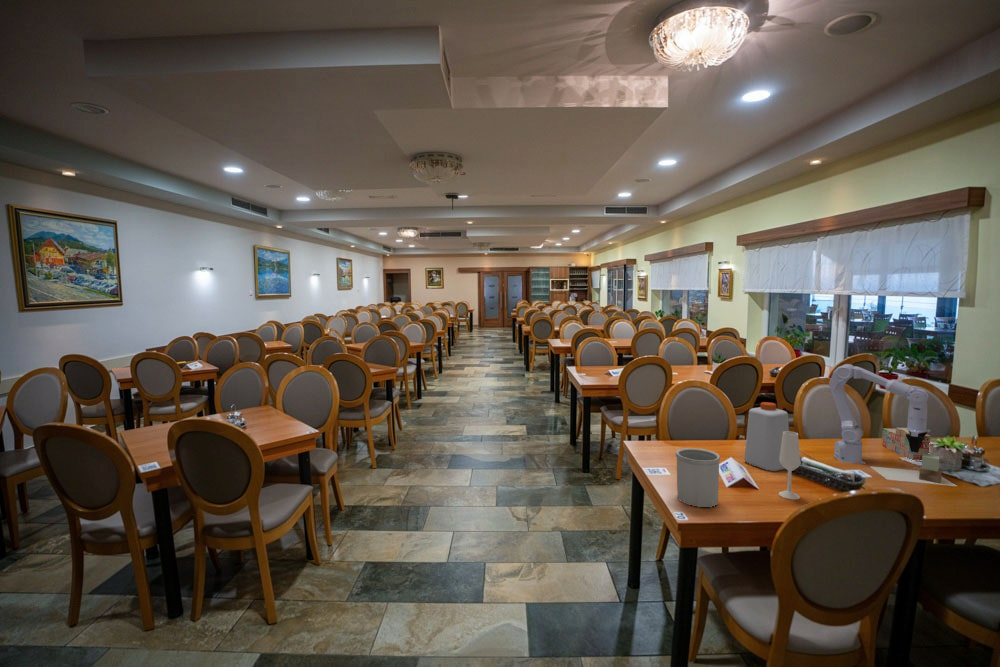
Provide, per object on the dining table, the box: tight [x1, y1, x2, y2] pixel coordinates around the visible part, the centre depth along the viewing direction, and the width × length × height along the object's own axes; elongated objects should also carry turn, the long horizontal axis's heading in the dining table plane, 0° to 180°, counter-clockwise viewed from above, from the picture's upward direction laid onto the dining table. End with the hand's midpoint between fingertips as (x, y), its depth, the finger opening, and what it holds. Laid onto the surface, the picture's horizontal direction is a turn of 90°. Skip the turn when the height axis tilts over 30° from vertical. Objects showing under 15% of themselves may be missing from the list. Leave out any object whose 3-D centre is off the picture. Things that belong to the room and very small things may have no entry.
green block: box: [921, 453, 940, 471], centre depth 172 cm, size 5×5×5 cm
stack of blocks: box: [882, 427, 931, 461], centre depth 204 cm, size 21×6×12 cm, turn 168°
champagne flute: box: [778, 430, 802, 500], centre depth 161 cm, size 7×7×24 cm
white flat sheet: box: [869, 466, 958, 487], centre depth 177 cm, size 22×15×1 cm
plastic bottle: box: [744, 401, 790, 472], centre depth 192 cm, size 15×15×28 cm
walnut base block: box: [918, 464, 943, 485], centre depth 173 cm, size 6×6×4 cm
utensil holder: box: [675, 447, 721, 508], centre depth 159 cm, size 15×15×18 cm
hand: (915, 449), depth 179 cm, fingers open, 7 cm apart
